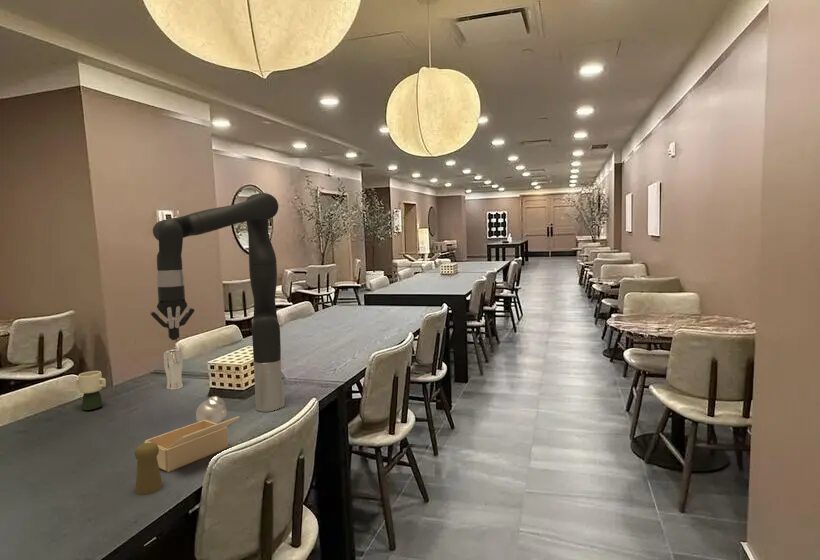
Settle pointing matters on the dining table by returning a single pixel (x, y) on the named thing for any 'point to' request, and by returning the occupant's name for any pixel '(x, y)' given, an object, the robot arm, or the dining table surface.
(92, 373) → the trophy cup
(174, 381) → the beer glass
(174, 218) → the robot arm
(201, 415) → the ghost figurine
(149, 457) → the cork
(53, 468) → the dining table surface
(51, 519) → the dining table surface
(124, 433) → the dining table surface
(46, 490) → the dining table surface
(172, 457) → the carton
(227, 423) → the flap
